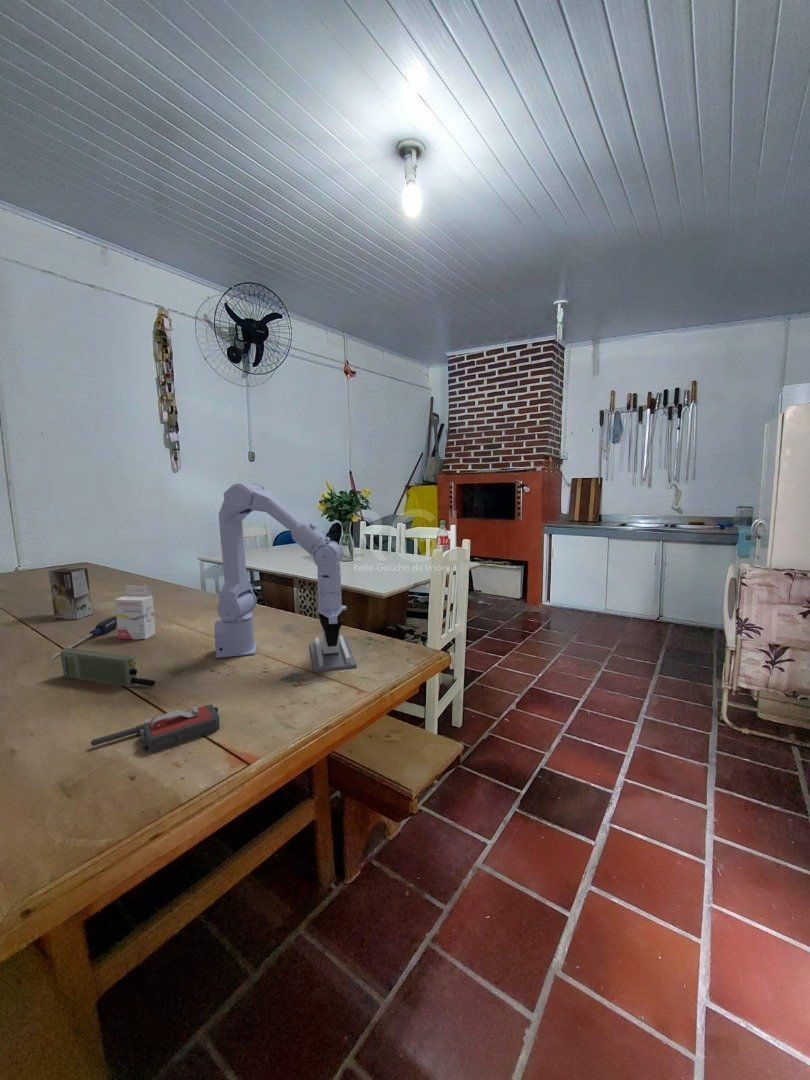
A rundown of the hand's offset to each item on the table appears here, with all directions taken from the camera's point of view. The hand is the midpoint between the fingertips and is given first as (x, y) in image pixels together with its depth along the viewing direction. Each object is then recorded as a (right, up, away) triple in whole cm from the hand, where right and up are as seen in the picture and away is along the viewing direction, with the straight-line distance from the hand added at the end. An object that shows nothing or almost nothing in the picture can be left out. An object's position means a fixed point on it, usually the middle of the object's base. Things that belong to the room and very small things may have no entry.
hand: (331, 642), depth 114 cm
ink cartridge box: (-59, -2, +16) cm, 61 cm away
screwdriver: (-71, -3, +12) cm, 72 cm away
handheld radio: (-48, -6, -13) cm, 50 cm away
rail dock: (0, -3, 0) cm, 3 cm away
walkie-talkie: (-24, -9, -35) cm, 43 cm away
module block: (0, -2, 0) cm, 2 cm away
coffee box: (-92, 0, +36) cm, 99 cm away
